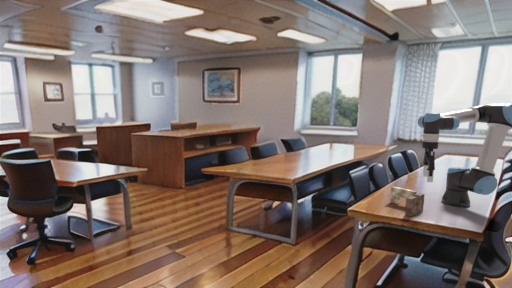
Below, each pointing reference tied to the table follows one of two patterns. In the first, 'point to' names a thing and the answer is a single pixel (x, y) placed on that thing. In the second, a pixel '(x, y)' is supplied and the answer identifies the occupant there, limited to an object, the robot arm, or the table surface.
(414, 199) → the miniature stone wall
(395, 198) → the stacked wood blocks
